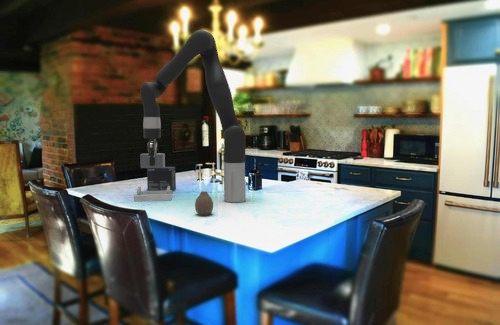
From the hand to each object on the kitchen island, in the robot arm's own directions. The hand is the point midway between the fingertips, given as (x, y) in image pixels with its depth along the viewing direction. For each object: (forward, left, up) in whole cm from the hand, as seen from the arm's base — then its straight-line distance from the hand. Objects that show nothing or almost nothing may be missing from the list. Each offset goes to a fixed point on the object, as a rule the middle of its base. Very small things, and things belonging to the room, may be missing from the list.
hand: (152, 164), depth 181 cm
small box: (-2, -20, -16) cm, 26 cm away
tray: (0, 0, -16) cm, 16 cm away
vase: (-22, +34, -16) cm, 43 cm away
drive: (0, 0, -1) cm, 1 cm away
